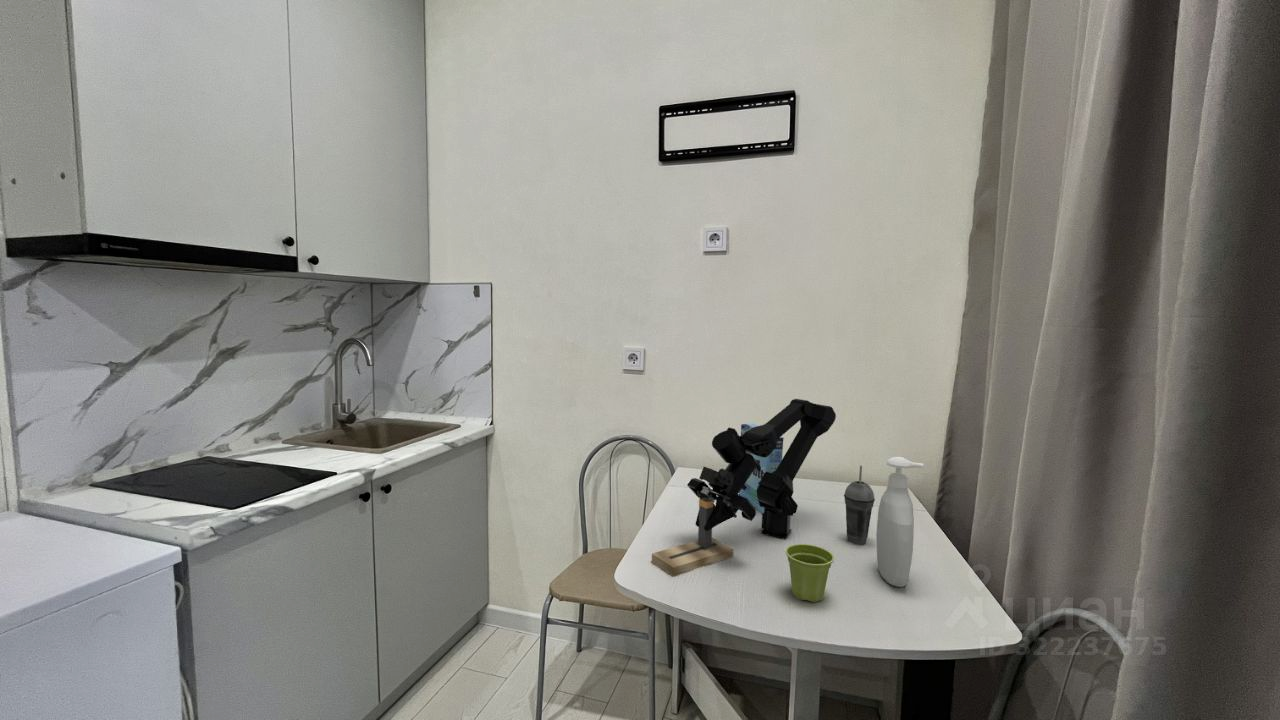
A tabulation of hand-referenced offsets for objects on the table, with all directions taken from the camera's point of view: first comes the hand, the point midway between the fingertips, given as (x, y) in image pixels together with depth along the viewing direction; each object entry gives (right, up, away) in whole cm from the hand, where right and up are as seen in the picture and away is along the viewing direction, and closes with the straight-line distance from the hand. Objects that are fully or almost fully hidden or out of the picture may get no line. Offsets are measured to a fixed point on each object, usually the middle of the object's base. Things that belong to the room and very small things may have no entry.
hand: (700, 527), depth 121 cm
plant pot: (+20, -9, -15) cm, 27 cm away
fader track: (-2, -7, -1) cm, 7 cm away
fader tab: (+1, -4, +1) cm, 5 cm away
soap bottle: (+42, -9, -7) cm, 43 cm away
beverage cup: (+41, -7, +12) cm, 44 cm away
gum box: (+22, -5, +38) cm, 44 cm away
